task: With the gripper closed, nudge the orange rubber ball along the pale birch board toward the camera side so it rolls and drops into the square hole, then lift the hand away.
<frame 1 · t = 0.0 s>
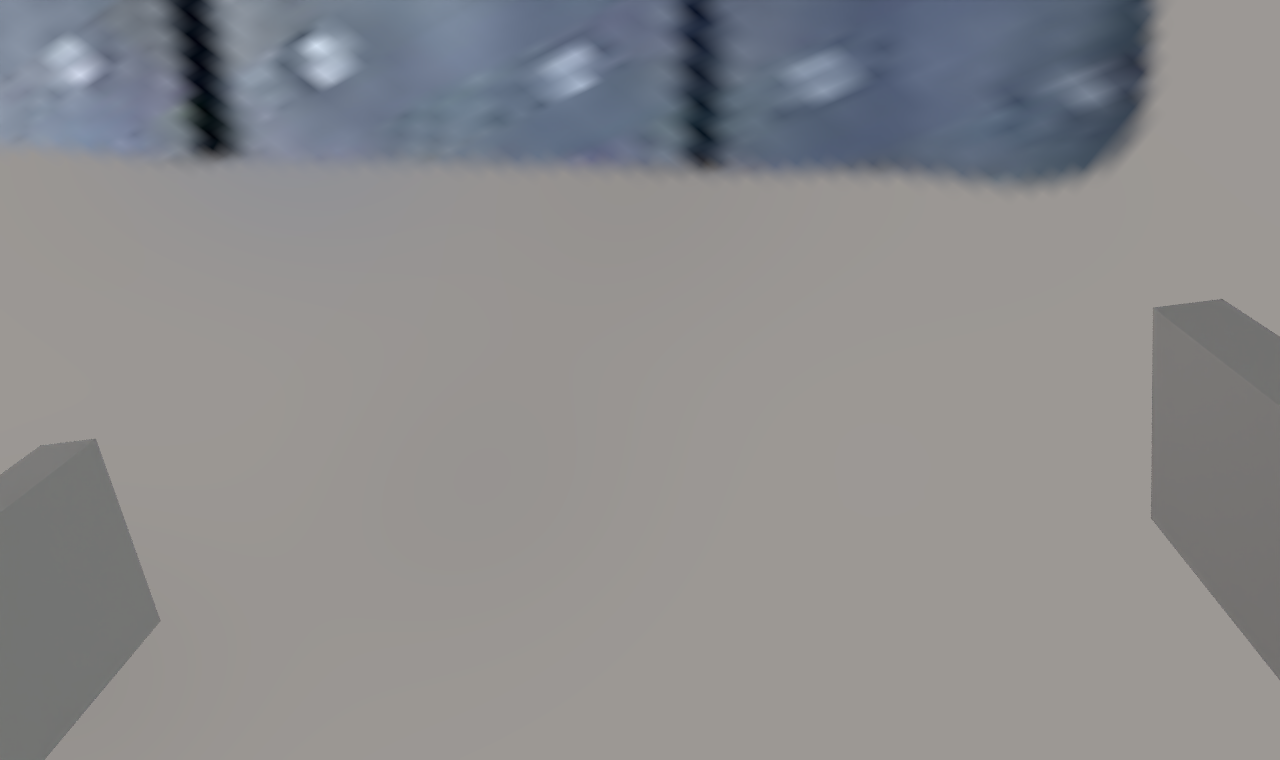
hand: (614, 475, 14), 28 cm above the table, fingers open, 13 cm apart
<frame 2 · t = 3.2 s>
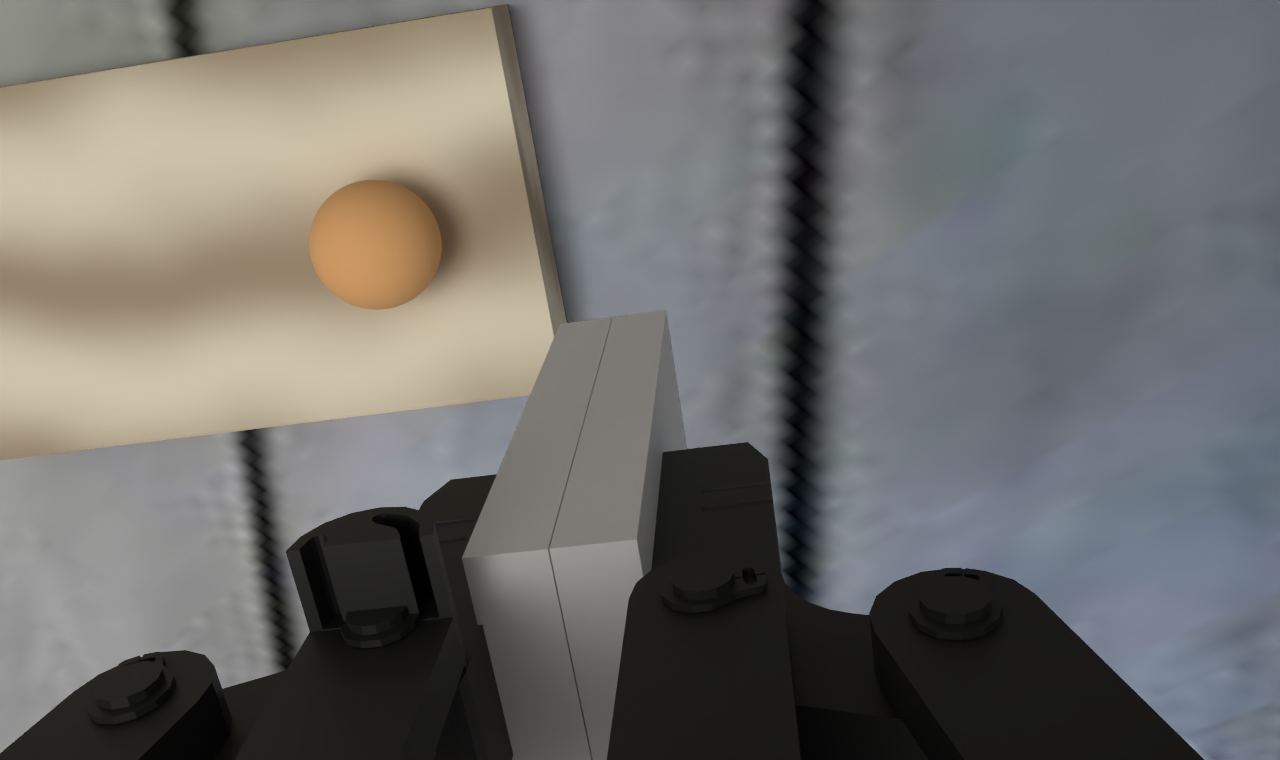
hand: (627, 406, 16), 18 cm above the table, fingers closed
board: (83, 259, 35), on the table
ball: (376, 245, 30), point 4 cm above the table, touching board
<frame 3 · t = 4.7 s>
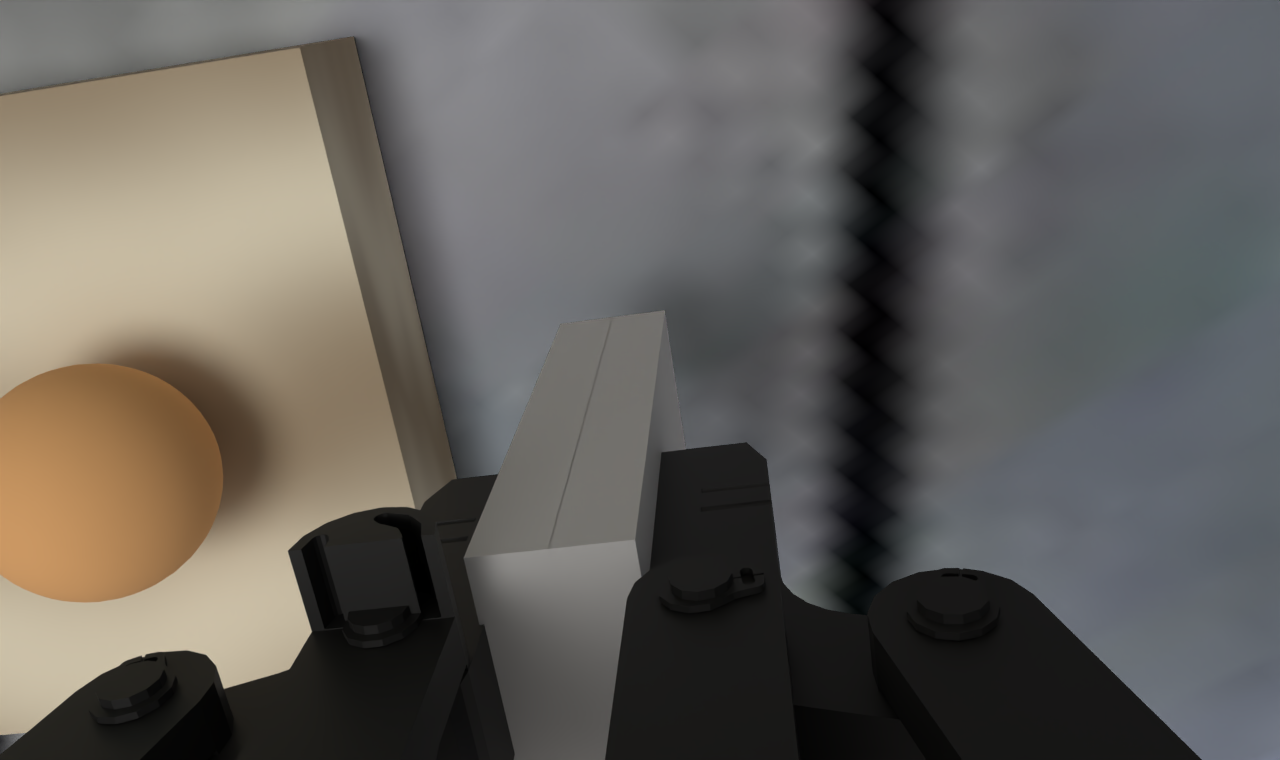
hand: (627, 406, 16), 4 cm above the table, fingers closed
ball: (96, 481, 16), point 4 cm above the table, touching board
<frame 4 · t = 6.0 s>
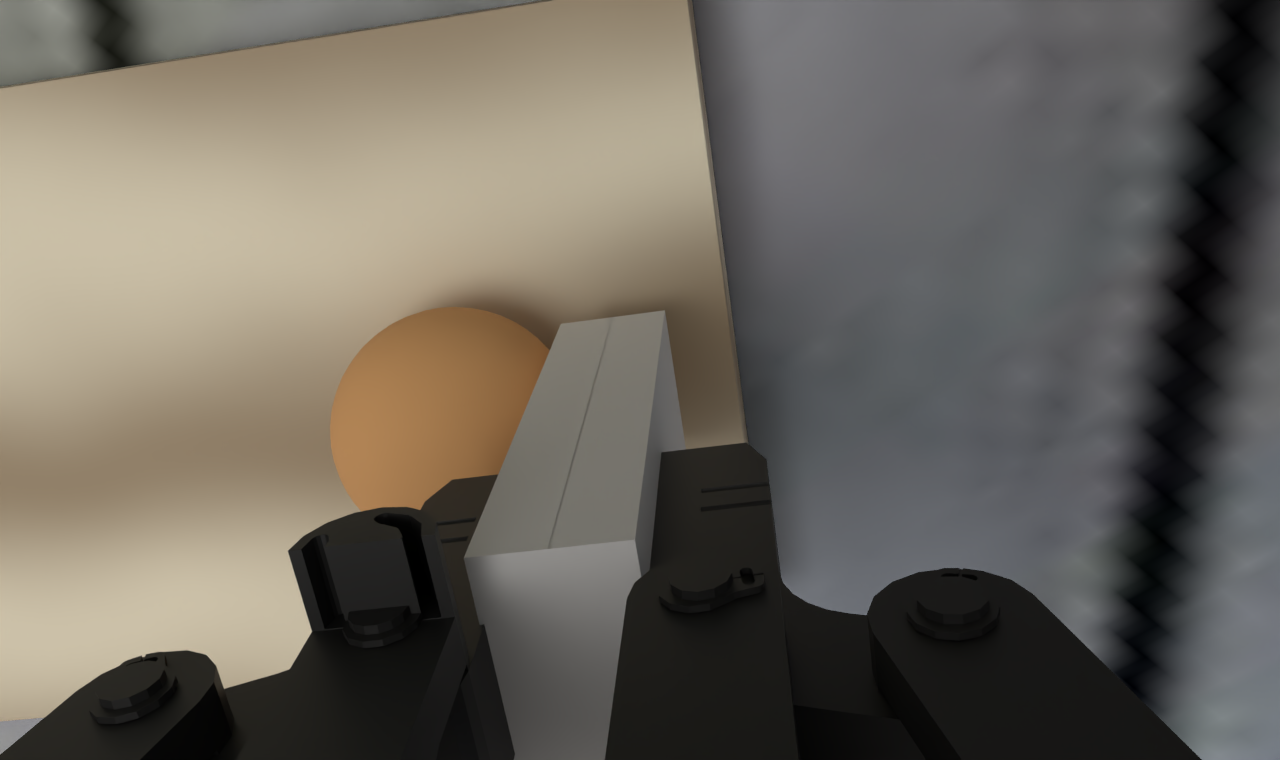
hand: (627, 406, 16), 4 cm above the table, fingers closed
ball: (456, 428, 16), point 4 cm above the table, touching board, gripper
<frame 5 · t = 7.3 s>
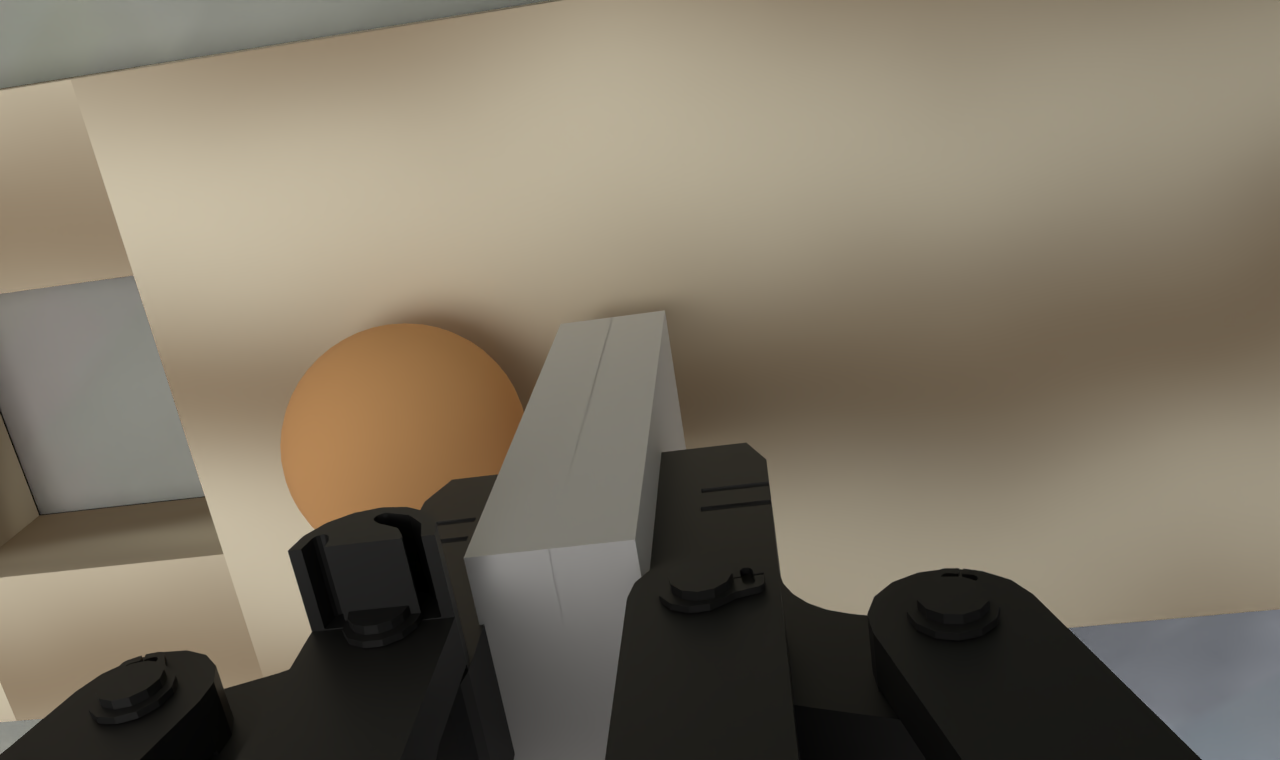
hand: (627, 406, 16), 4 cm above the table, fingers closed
board: (424, 345, 20), on the table
ball: (407, 443, 16), point 4 cm above the table, tilted 30°, touching board
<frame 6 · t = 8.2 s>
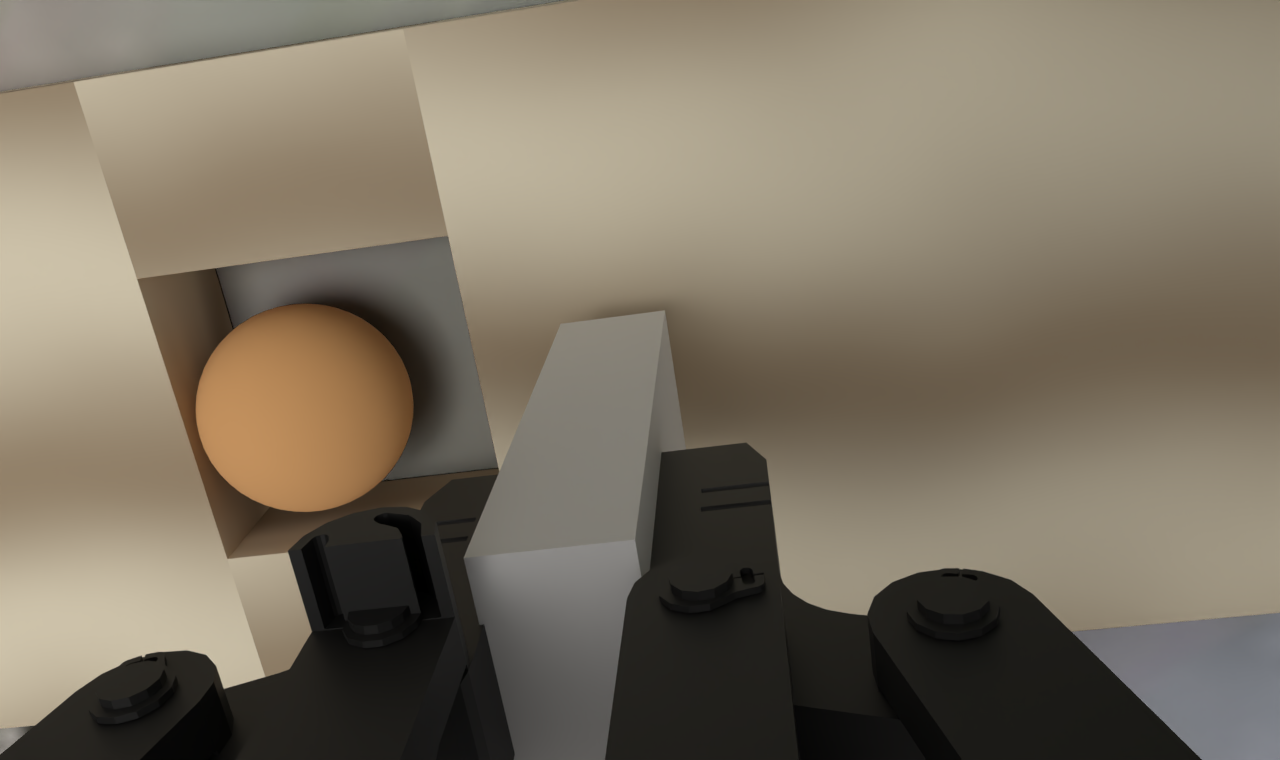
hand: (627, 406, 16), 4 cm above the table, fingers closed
board: (702, 314, 19), on the table
ball: (307, 407, 18), point 2 cm above the table, tilted 118°
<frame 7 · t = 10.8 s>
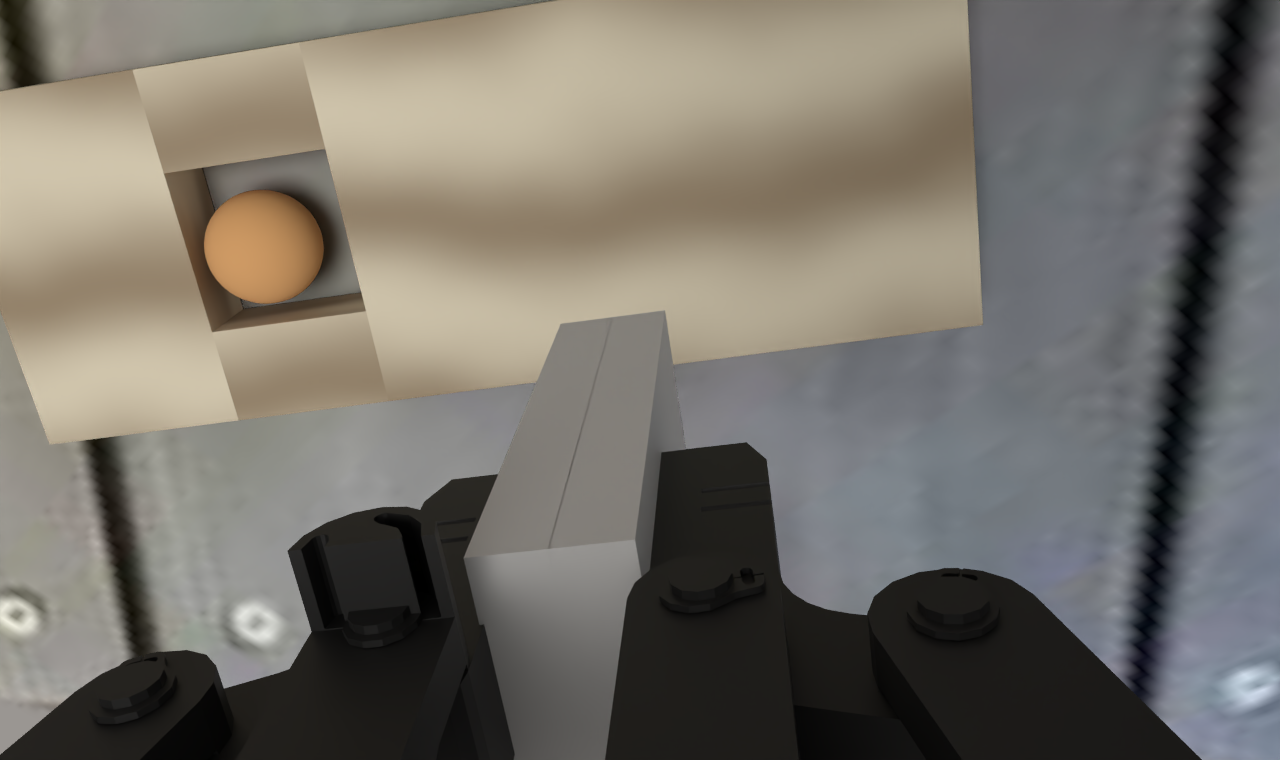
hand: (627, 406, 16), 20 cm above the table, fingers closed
board: (475, 199, 35), on the table
ball: (264, 247, 34), point 2 cm above the table, tilted 128°
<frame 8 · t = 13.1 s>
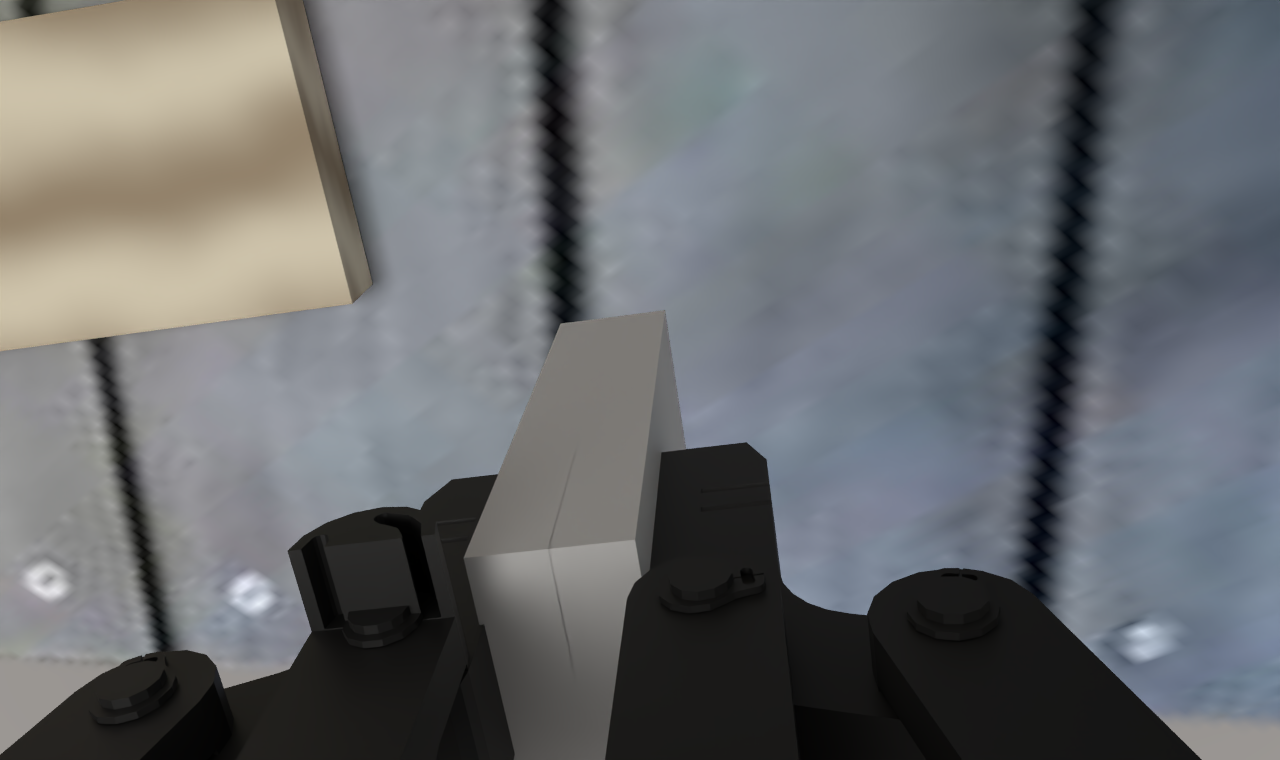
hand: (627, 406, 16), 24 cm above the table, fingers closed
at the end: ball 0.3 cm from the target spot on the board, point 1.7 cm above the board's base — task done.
